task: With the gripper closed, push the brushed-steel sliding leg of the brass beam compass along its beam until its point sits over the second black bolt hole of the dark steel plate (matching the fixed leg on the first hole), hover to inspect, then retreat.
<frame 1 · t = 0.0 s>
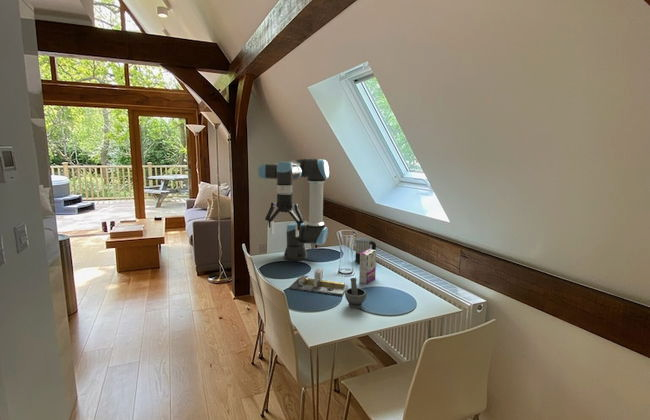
hand: (284, 235, 176), 28 cm above the table, fingers open, 13 cm apart
mortar and pestle: (354, 305, 163), on the table
beam: (321, 286, 184), resting on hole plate
candy bar box: (367, 280, 194), on the table
sliding leg: (317, 278, 182), point 5 cm above the table, slide at 0.0 cm
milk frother: (361, 259, 230), on the table
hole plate: (318, 287, 182), on the table
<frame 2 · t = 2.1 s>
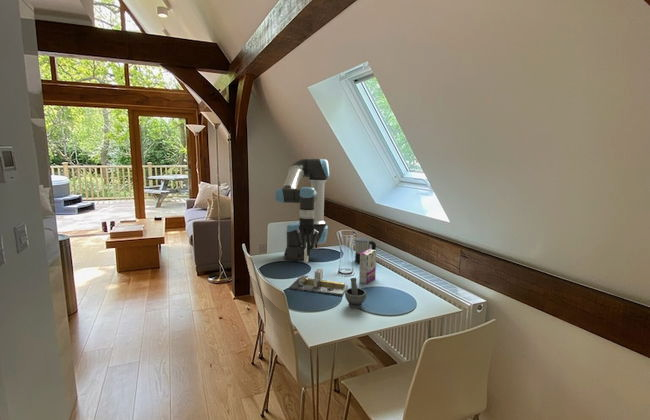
hand: (306, 261, 184), 13 cm above the table, fingers closed
nothing on the table moved.
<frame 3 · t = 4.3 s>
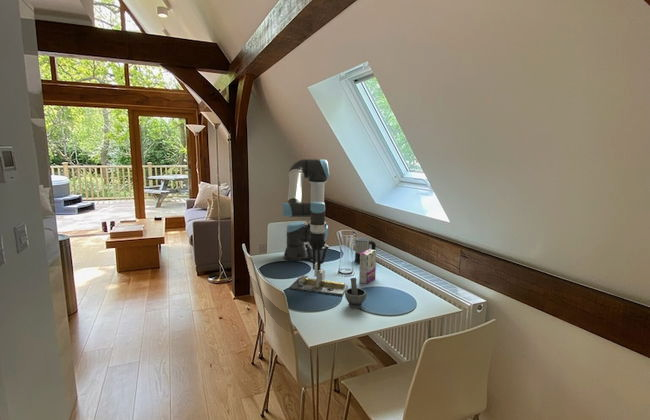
hand: (316, 275, 184), 6 cm above the table, fingers closed
sliding leg: (319, 278, 182), point 5 cm above the table, slide at 1.1 cm, touching gripper
everything else where it was.
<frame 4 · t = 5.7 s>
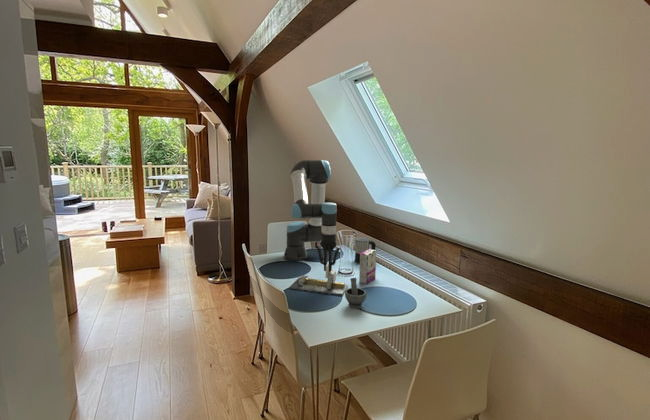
hand: (327, 277, 182), 5 cm above the table, fingers closed
sliding leg: (330, 279, 180), point 5 cm above the table, slide at 7.1 cm, touching gripper
everything else where it was.
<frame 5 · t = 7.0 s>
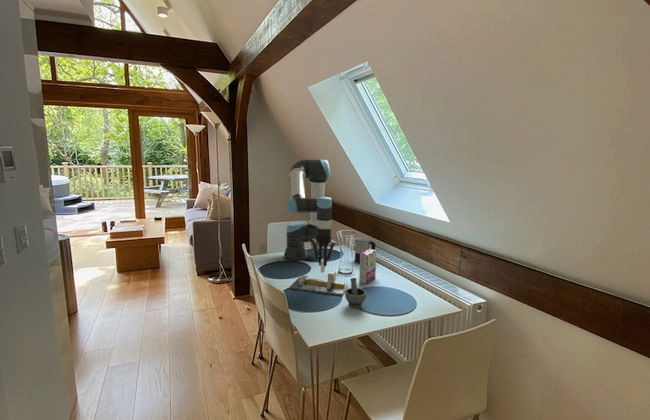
hand: (322, 271, 182), 8 cm above the table, fingers closed
sliding leg: (331, 279, 180), point 5 cm above the table, slide at 7.2 cm
everything else where it was.
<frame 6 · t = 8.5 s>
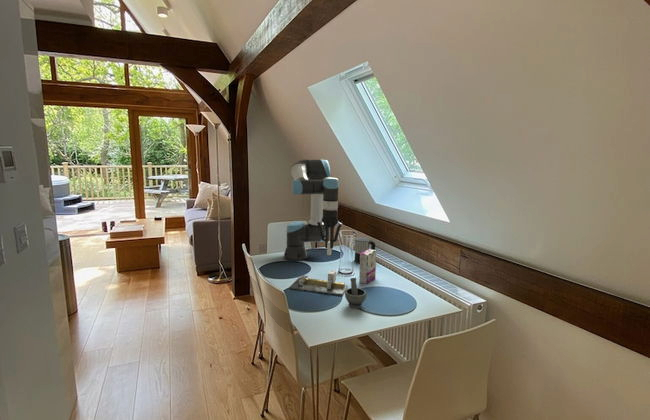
hand: (329, 254, 178), 18 cm above the table, fingers closed
nothing on the table moved.
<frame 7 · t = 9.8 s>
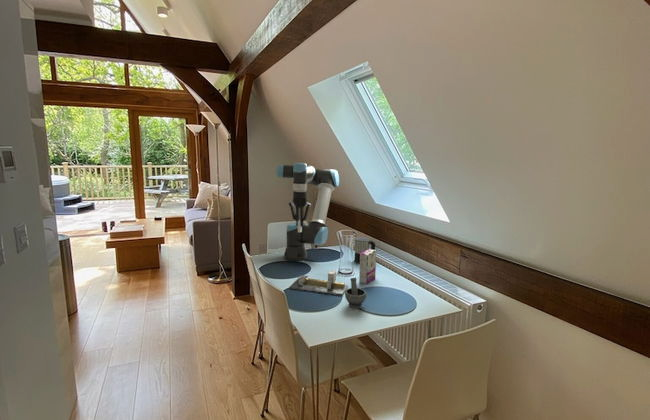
hand: (299, 231, 200), 24 cm above the table, fingers closed
nothing on the table moved.
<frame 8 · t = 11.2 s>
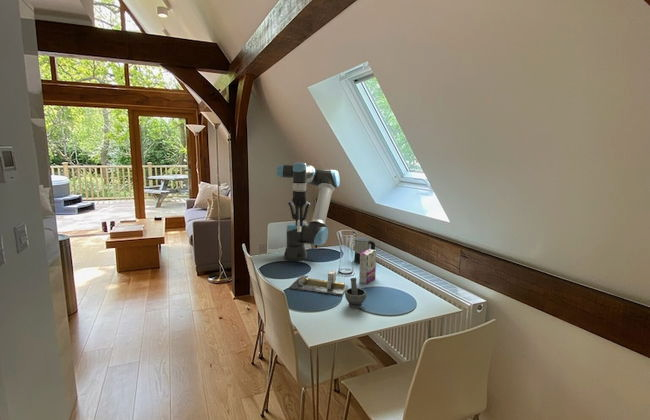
hand: (299, 231, 200), 24 cm above the table, fingers closed
nothing on the table moved.
at the end: sliding leg slide at 7.2 cm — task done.
